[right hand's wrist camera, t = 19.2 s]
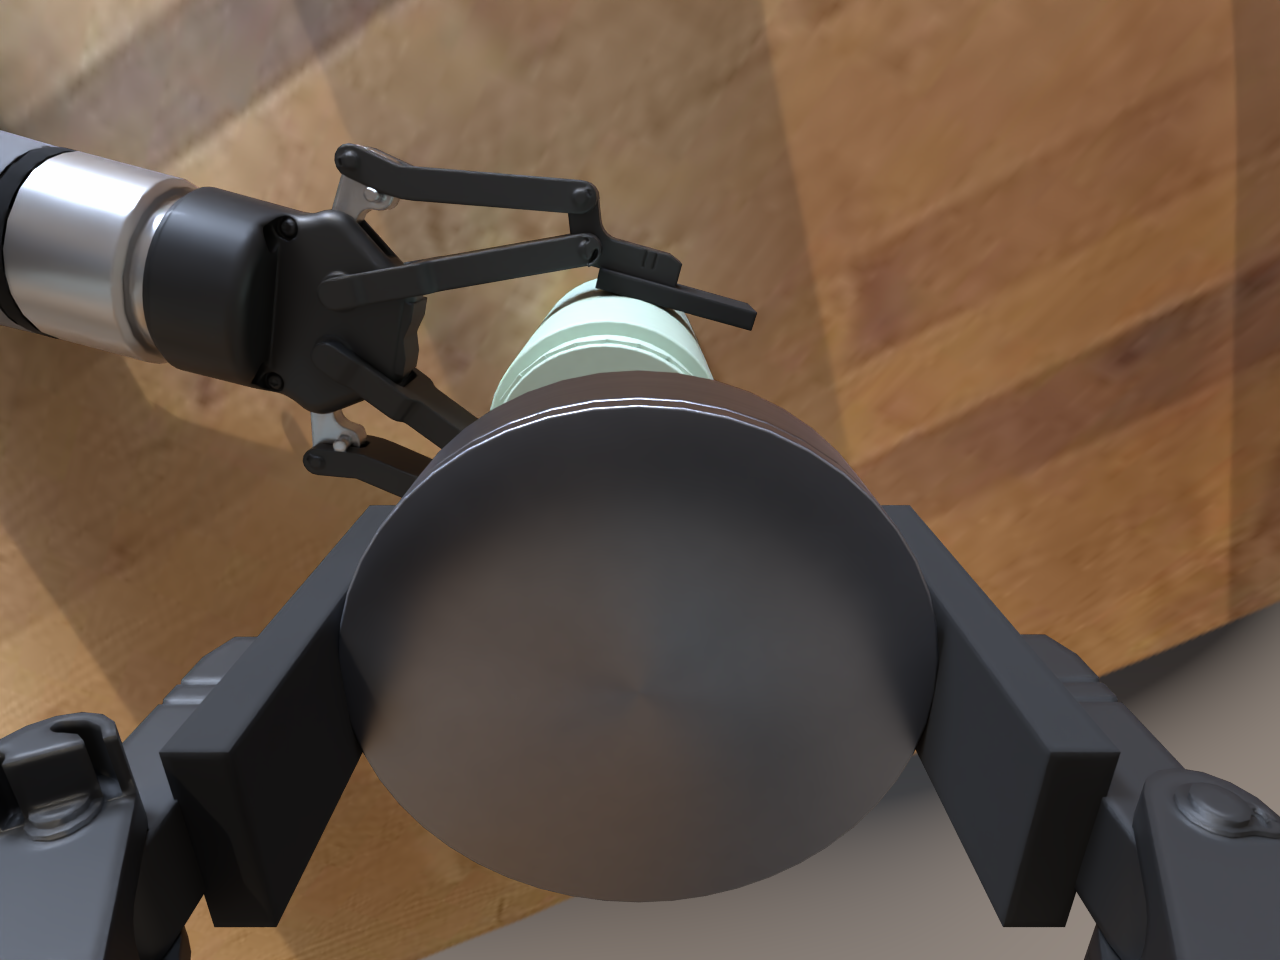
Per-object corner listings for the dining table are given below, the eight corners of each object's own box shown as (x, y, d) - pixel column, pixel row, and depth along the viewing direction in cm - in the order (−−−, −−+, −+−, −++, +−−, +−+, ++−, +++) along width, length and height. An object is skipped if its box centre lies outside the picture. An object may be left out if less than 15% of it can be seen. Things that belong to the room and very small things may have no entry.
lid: (383, 786, 14) (343, 877, 12) (382, 332, 11) (328, 362, 9) (829, 830, 14) (856, 925, 13) (960, 407, 11) (1023, 451, 9)
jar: (730, 345, 37) (788, 438, 23) (631, 463, 39) (628, 614, 25) (602, 240, 35) (578, 271, 21) (506, 371, 37) (427, 479, 23)
